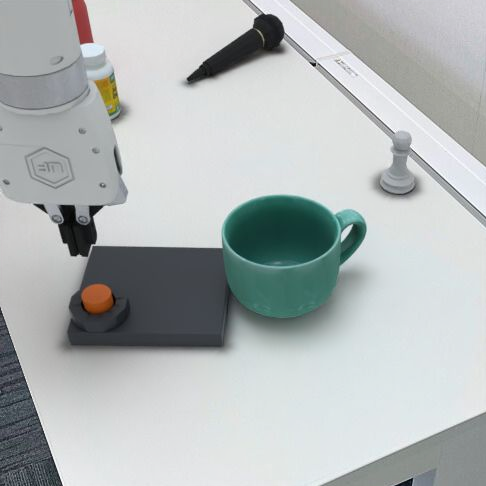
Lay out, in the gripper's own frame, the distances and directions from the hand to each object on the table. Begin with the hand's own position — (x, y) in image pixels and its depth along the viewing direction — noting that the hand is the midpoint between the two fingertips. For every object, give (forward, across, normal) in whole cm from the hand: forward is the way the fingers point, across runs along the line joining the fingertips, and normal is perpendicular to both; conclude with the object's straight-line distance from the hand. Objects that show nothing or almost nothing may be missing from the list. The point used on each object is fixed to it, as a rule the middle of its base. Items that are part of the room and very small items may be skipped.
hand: (82, 247), depth 76 cm
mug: (+10, +21, +5) cm, 24 cm away
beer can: (+11, -14, +54) cm, 57 cm away
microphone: (+11, +10, +59) cm, 61 cm away
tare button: (+7, 0, -1) cm, 7 cm away
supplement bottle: (+11, -8, +42) cm, 45 cm away
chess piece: (+11, +34, +26) cm, 45 cm away
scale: (+10, +5, +3) cm, 12 cm away
